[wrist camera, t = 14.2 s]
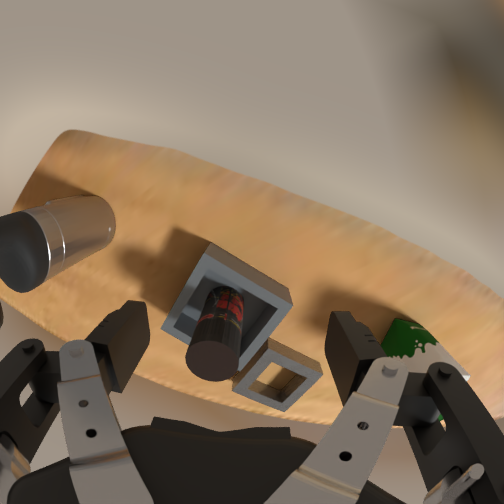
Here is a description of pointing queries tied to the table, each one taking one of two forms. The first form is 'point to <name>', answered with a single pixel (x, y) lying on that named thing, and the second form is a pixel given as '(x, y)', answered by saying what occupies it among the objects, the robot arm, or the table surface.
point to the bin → (247, 284)
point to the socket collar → (286, 358)
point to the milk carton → (417, 348)
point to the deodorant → (217, 336)
